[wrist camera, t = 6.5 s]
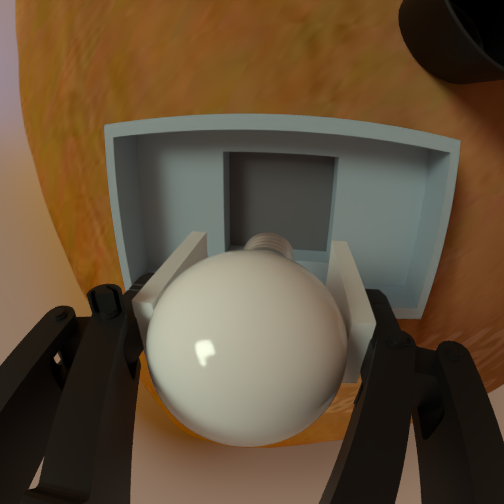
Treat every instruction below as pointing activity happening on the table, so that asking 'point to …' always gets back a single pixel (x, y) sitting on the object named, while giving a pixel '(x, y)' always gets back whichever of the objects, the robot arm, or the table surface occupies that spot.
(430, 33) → the mug
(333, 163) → the socket box
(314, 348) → the lightbulb
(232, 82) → the table surface
